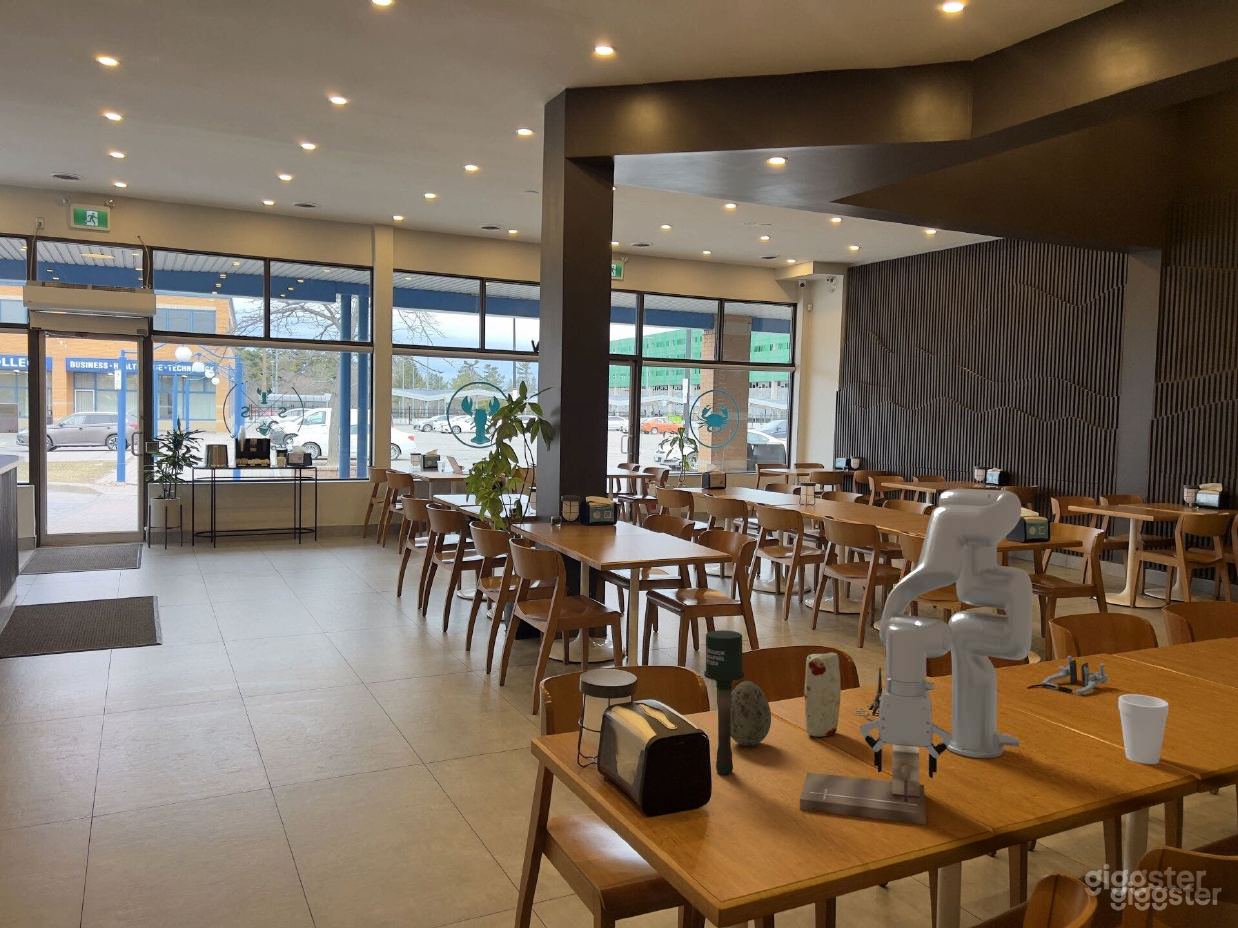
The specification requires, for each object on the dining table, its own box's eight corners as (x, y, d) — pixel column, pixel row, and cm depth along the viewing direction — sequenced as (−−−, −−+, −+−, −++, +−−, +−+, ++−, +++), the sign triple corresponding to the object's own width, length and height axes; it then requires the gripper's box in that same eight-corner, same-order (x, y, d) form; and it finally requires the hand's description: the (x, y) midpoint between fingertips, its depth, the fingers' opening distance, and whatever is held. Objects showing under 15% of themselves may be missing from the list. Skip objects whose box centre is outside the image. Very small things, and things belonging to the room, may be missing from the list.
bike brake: (1066, 674, 259) (1027, 696, 248) (1064, 652, 258) (1025, 673, 247) (1113, 685, 247) (1074, 709, 237) (1111, 662, 246) (1073, 685, 236)
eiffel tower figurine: (878, 703, 237) (878, 654, 236) (912, 712, 229) (912, 661, 228) (845, 715, 227) (845, 664, 227) (878, 725, 219) (878, 672, 219)
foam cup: (1150, 769, 188) (1151, 709, 187) (1109, 755, 196) (1109, 698, 196) (1176, 761, 192) (1177, 703, 192) (1135, 748, 200) (1135, 692, 200)
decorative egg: (736, 755, 198) (735, 689, 198) (717, 739, 209) (717, 677, 208) (779, 750, 201) (779, 685, 201) (758, 734, 212) (758, 673, 211)
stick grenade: (701, 765, 192) (700, 630, 191) (739, 764, 193) (739, 628, 192) (708, 780, 184) (707, 639, 183) (748, 779, 185) (748, 638, 184)
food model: (816, 742, 206) (815, 658, 205) (797, 733, 212) (797, 651, 211) (847, 734, 211) (847, 652, 210) (828, 726, 217) (828, 646, 216)
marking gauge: (918, 788, 178) (918, 746, 177) (919, 815, 165) (919, 769, 165) (892, 786, 179) (892, 743, 179) (891, 812, 167) (892, 766, 167)
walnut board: (923, 794, 176) (923, 784, 176) (925, 824, 163) (925, 813, 163) (807, 781, 183) (807, 771, 183) (799, 809, 170) (799, 798, 170)
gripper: (951, 685, 174) (950, 770, 174) (861, 678, 179) (860, 761, 180) (953, 695, 167) (952, 784, 167) (859, 688, 172) (858, 774, 173)
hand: (905, 772), depth 173 cm, fingers open, 9 cm apart
